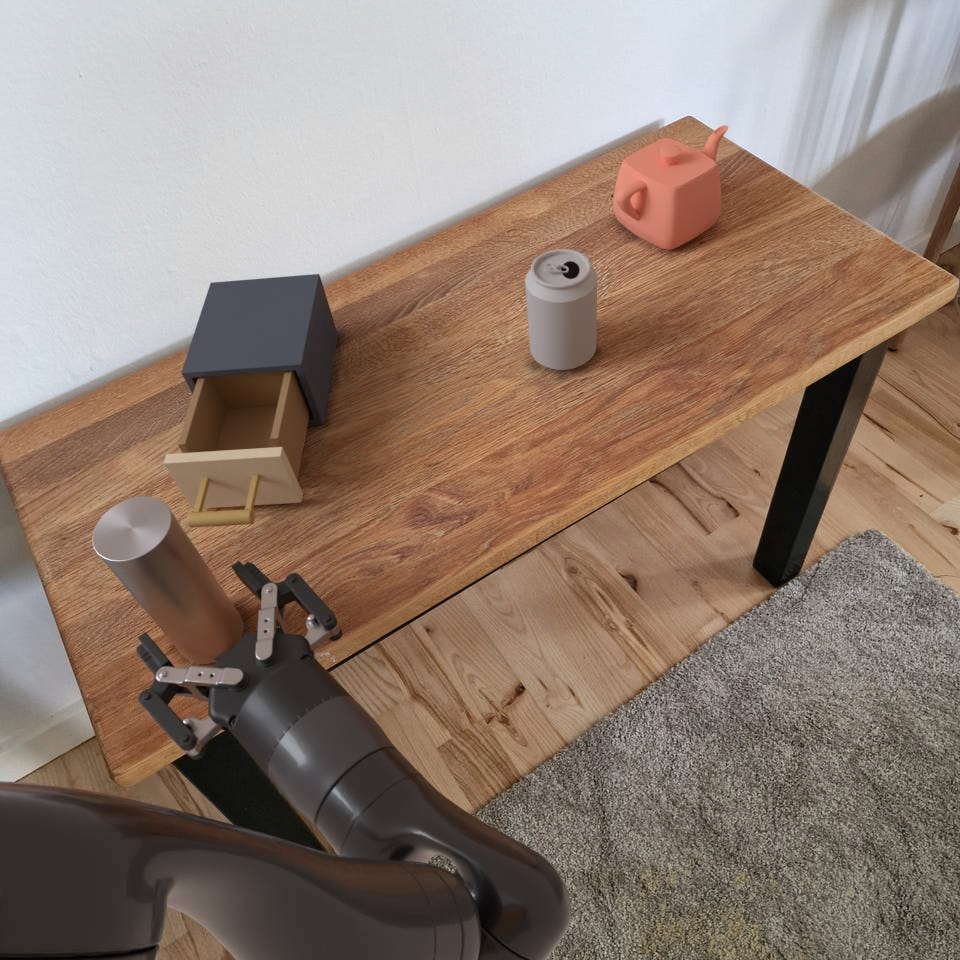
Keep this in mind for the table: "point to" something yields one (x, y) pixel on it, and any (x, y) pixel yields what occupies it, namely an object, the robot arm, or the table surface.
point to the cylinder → (168, 577)
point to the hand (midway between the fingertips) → (192, 603)
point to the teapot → (669, 191)
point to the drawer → (241, 446)
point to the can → (562, 309)
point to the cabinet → (267, 334)
